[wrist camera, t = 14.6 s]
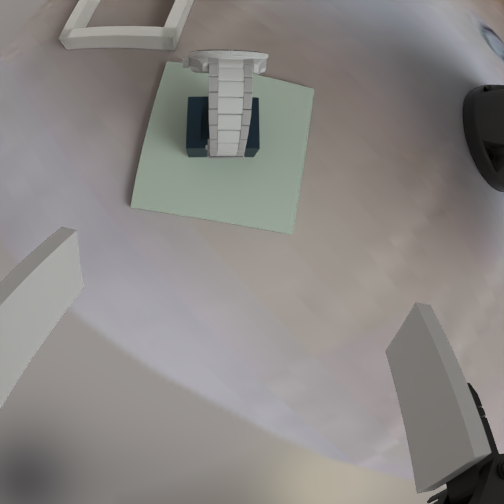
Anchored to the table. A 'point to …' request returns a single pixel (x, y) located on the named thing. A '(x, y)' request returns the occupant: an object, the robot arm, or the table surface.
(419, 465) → the robot arm
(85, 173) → the table surface
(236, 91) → the watch
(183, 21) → the dock
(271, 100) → the mat
